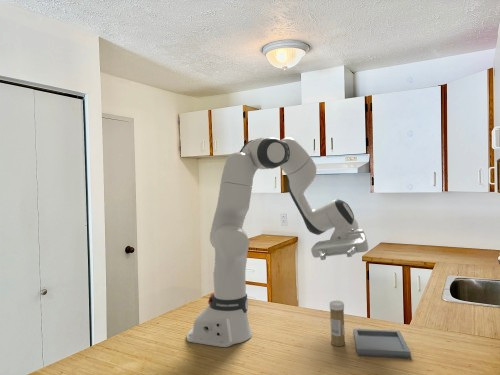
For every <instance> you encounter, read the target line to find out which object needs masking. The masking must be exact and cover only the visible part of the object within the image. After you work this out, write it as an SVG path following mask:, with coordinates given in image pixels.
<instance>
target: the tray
mask: <svg viewBox="0 0 500 375" xmlns="http://www.w3.org/2000/svg"><path fill="white" fill-rule="evenodd" d="M352 332H353V339H354V344H355V349H356V354H357V356H359V357H360V356H362V357H363V356H364V357H378V358H379V357H382V358H399V359H411V357H412V356H411V350H410V348H409V346H408V344H407V341H406V340H405V338H404V336H403V335H402V333H401V331H400V330H395V329H394V330H389V329H369V328H353V329H352Z"/></svg>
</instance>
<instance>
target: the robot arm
mask: <svg viewBox="0 0 500 375" xmlns="http://www.w3.org/2000/svg"><path fill="white" fill-rule="evenodd" d="M278 167H280V168H281V169H282V171H283V172H284V173H285V175H286V177H287V179H288V183H287V189H288V192H289V195H290V197H291V199H292V201H293V203H294V205H295V206H296V209H297V210H298V212H299V214H300V215H301V217H302V219H303V222H304V224H305V228H306V229H307V230H308V231H309V233H311V234H314V235H316V236H320V235H322V234H324V233H325V232H327V231H329V230H332V229H333V228H334V230H333V232H332V234H331V236H330V239H326V240H320V241H317V242H315V243H314V245H312V247H311V248H310V250H311V255H312V257H314V259H316V258H319V259H320V261H325V260H326V258H327V257H332V256H333V257H334V256H341V255H346V257H347V258H352V257H353V256H354V255H355V254H358V253H366V252H367V251H368V250H369V245H368V239H367V236H366V234H365V231H364V229H359V224H358V221H357V220H356V219H355V214H354V213H353V210H352V208H351V207H350V205H349V204H348V203H347V201H346V202H345V201H343V200H341V199H338V198H337V199H334V200H333V199H332V200H331V201H329V202H326V204H324V205H322V206H321V205H320V206H318V207H317V208H312V207H311V205H310V203H309V202H308V200H307V198H306V196H305V194H304V193H305V191H306V190H307V189H308V187H310V186H311V184H312V183H313V182H314V179H315V178H316V176H317V166H316V163H315V162H314V160H313V158H312V157H311V156H310V155H309V153H308V152H307V151H306V150H305V148H303V146H302V145H301V144H300V143H299V142H298V141H297V140H296V139H294V138H292V137H285V138H282V139H279V138H275V137H265V138H264V137H259V138H255V139H253V140H252V139H251V140H248V141H247V142H246V143H245V144H244V145H243V146H242V147H241V149H240V150H239V151H238V152H233V153H230V154H229V155H228V156H227V158H226V160H225V163H224V166H223V170H222V174H221V178H220V184H219V190H218V191H219V192H218V198H217V204H216V209H215V212H214V216H213V220H212V224H211V228H210V234H209V241H210V244H211V246H212V247H213V249H214V252H215V253H214V255H215V256H214V268H213V274H212V275H213V292H212V293H210V296H209V297H208V300H207V304H208V306H206V308H204V309H203V310H202V311H201V312H200V313H199V314H198V315H197V316H196V317H195V320H194V322H193V326H192V328H191V329H189V331H188V332H187V334H186V341H187V342H188V343H194V344H201V345H208V346H215V347H219V348H220V347H221V348H228V347H231V346H232V345H236V344H241V343H244V342H246V341H248V340H249V339H251V337H252V335H253V332H252V330H251V326H250V321H249V314H248V309H249V302H248V299H249V298H248V294H247V289H246V287H247V286H246V284H247V283H246V268H247V261H248V251H249V247H250V240H249V237H248V234H247V233H246V231H245V230H244V229H243V226H244V222H245V220H246V216H247V214H248V211H249V210H250V205H251V204H250V203H251V197H252V189H253V183H254V182H253V181H254V176H255V174H256V172H257V170H269V169H271V170H273V169H276V168H278Z"/></svg>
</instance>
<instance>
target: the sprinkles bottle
mask: <svg viewBox="0 0 500 375" xmlns="http://www.w3.org/2000/svg"><path fill="white" fill-rule="evenodd" d="M344 310H345V303H344V302H343V301H341V300H331V301H330V302H329V311H330V317H329V319H330V321H329V322H330V338H331V340H330V343H331V344H332V345H333V346H335V347H336V346H337V347H342V346H344V345H345V344H346V341H345V315H344V314H345V311H344Z"/></svg>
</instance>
